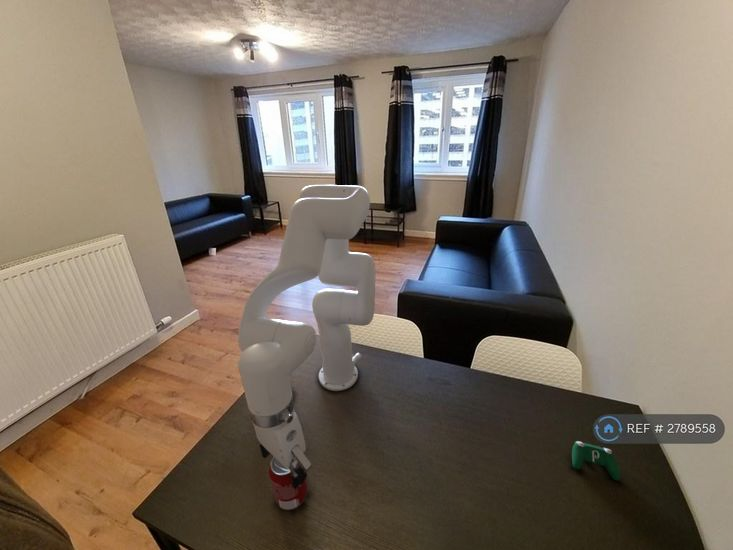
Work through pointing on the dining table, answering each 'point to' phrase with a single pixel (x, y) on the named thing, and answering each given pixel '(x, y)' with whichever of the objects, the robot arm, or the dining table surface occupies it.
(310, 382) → the dining table surface
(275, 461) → the soda can
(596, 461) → the gaming controller
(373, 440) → the dining table surface
